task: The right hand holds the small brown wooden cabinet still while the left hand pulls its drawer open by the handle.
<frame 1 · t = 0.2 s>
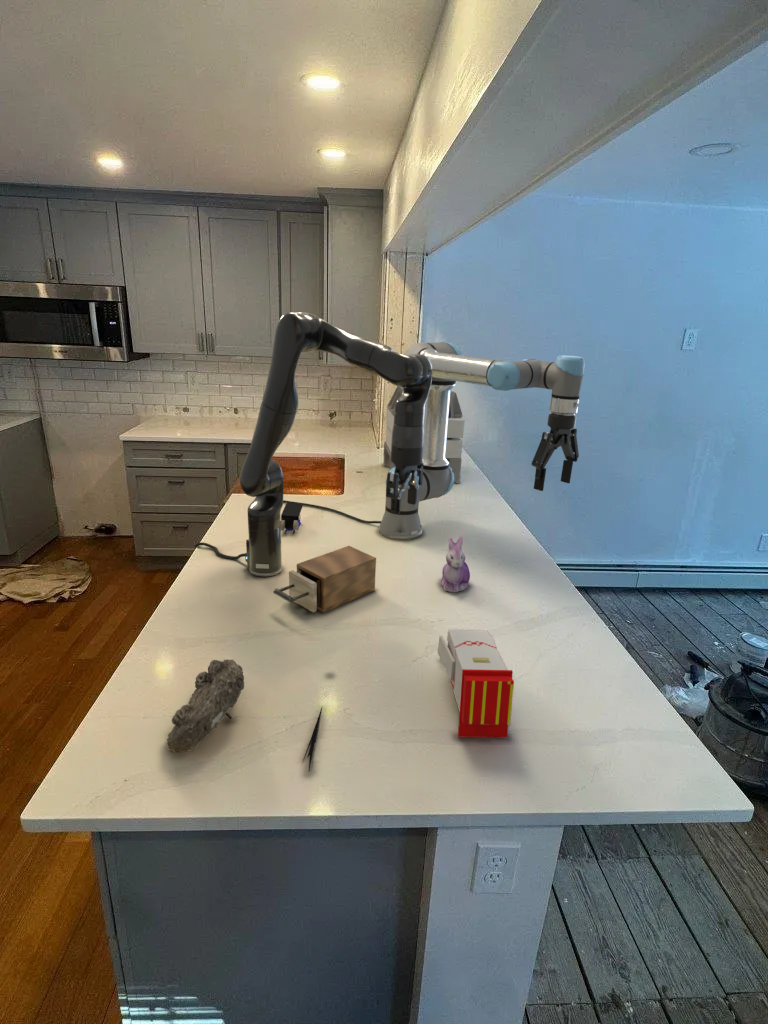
left hand: (403, 508, 138), 29 cm above the counter, tool pointing down, fingers open, 8 cm apart
right hand: (552, 485, 166), 28 cm above the counter, tool pointing down, fingers open, 13 cm apart
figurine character: (291, 529, 200), on the counter
white slatted crate: (419, 473, 275), on the counter
feather: (319, 719, 109), on the counter
fossil: (212, 717, 108), on the counter
cabinet: (336, 593, 156), on the counter
figurine: (454, 586, 164), on the counter
toy: (469, 691, 119), on the counter
drawer: (318, 584, 150), point 5 cm above the counter, slide at 1.8 cm
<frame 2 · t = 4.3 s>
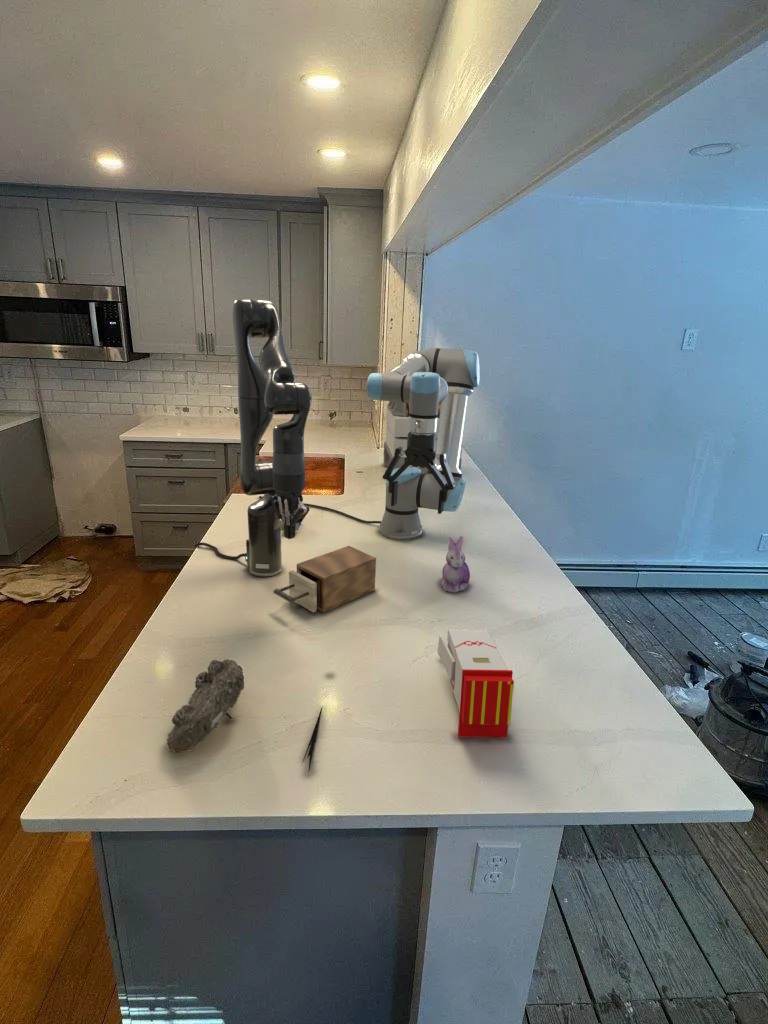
left hand: (289, 537, 139), 21 cm above the counter, tool pointing down, fingers closed
right hand: (416, 508, 157), 23 cm above the counter, tool pointing down, fingers open, 13 cm apart
nothing on the counter moved.
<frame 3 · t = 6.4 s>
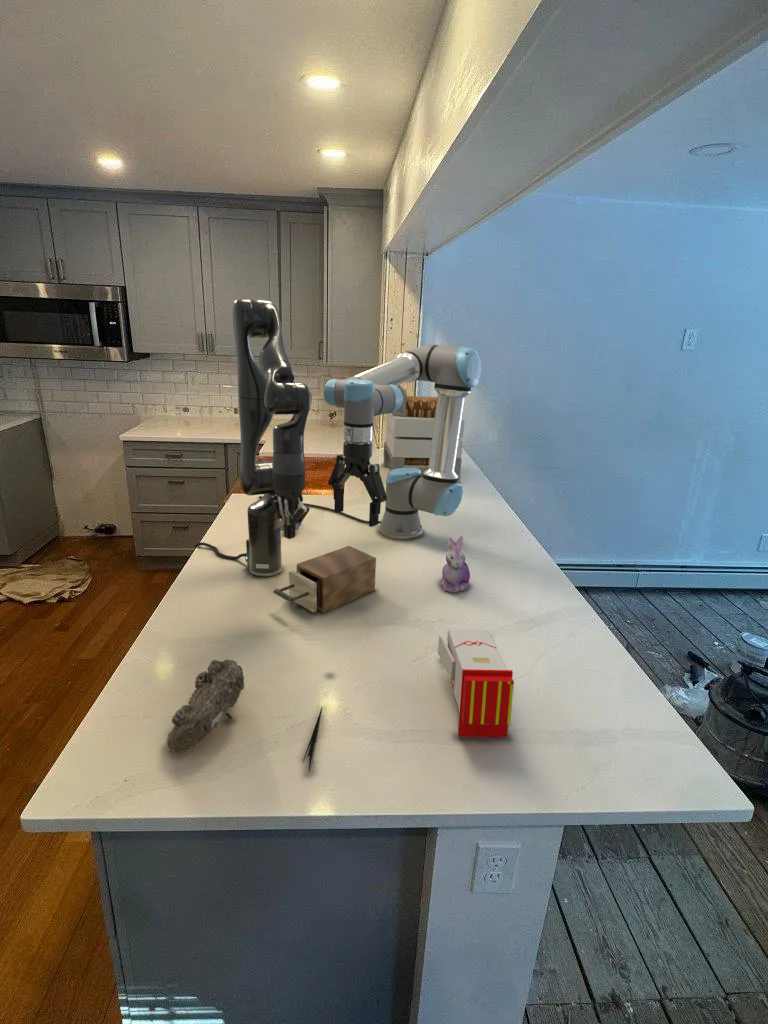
left hand: (289, 537, 139), 21 cm above the counter, tool pointing down, fingers closed
right hand: (355, 518, 154), 21 cm above the counter, tool pointing down, fingers open, 13 cm apart
nothing on the counter moved.
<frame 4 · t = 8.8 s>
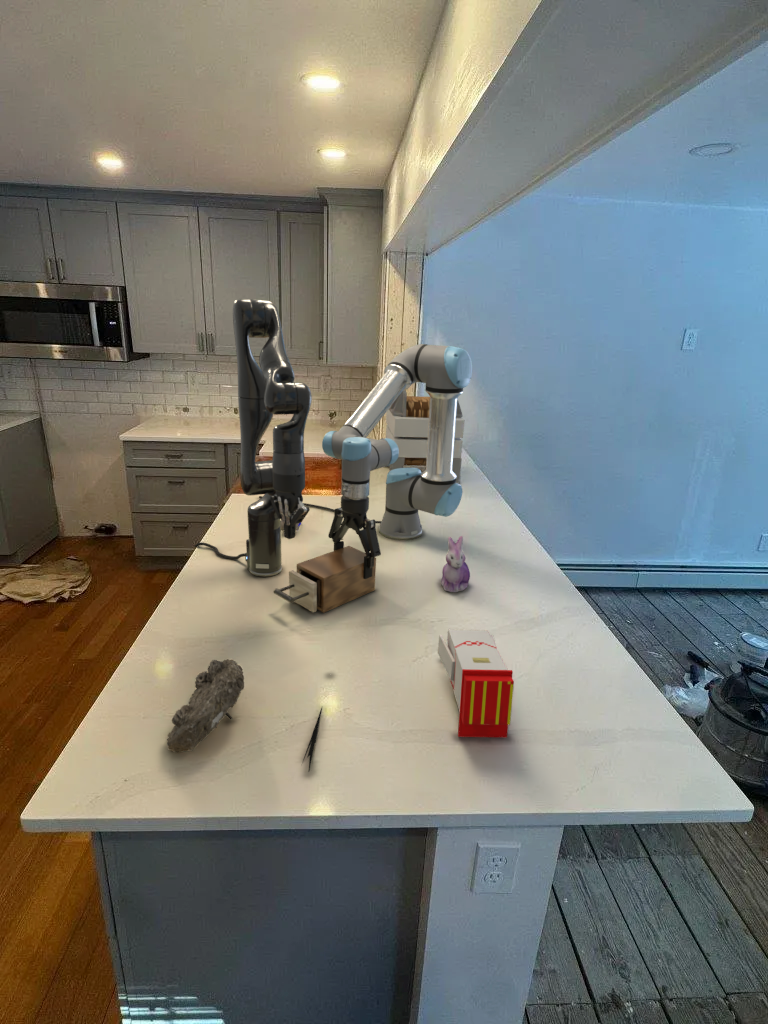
left hand: (289, 537, 139), 21 cm above the counter, tool pointing down, fingers closed
right hand: (352, 570, 159), 5 cm above the counter, tool pointing down, fingers closed on cabinet, 11 cm apart
cabinet: (336, 593, 156), on the counter, touching right hand
everything else where it was.
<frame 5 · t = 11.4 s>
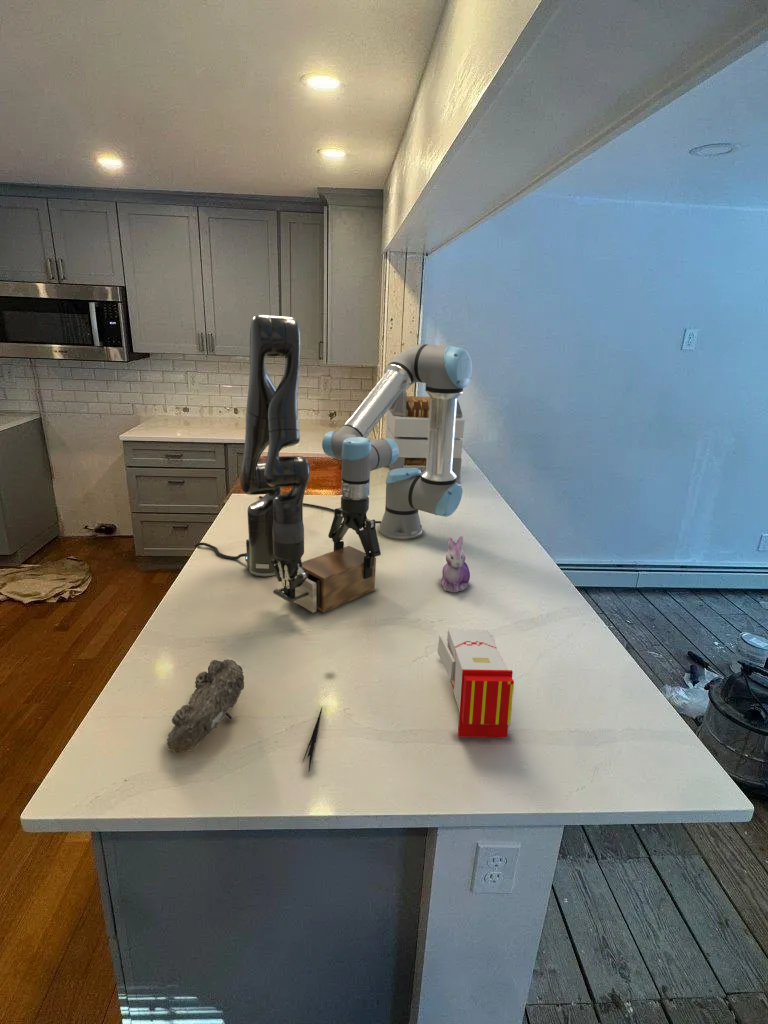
left hand: (289, 599, 144), 4 cm above the counter, tool pointing down, fingers closed
right hand: (352, 570, 159), 5 cm above the counter, tool pointing down, fingers closed on cabinet, 11 cm apart
cabinet: (336, 593, 156), on the counter, touching right hand
drawer: (317, 585, 150), point 5 cm above the counter, slide at 1.9 cm, touching left hand
everything else where it was.
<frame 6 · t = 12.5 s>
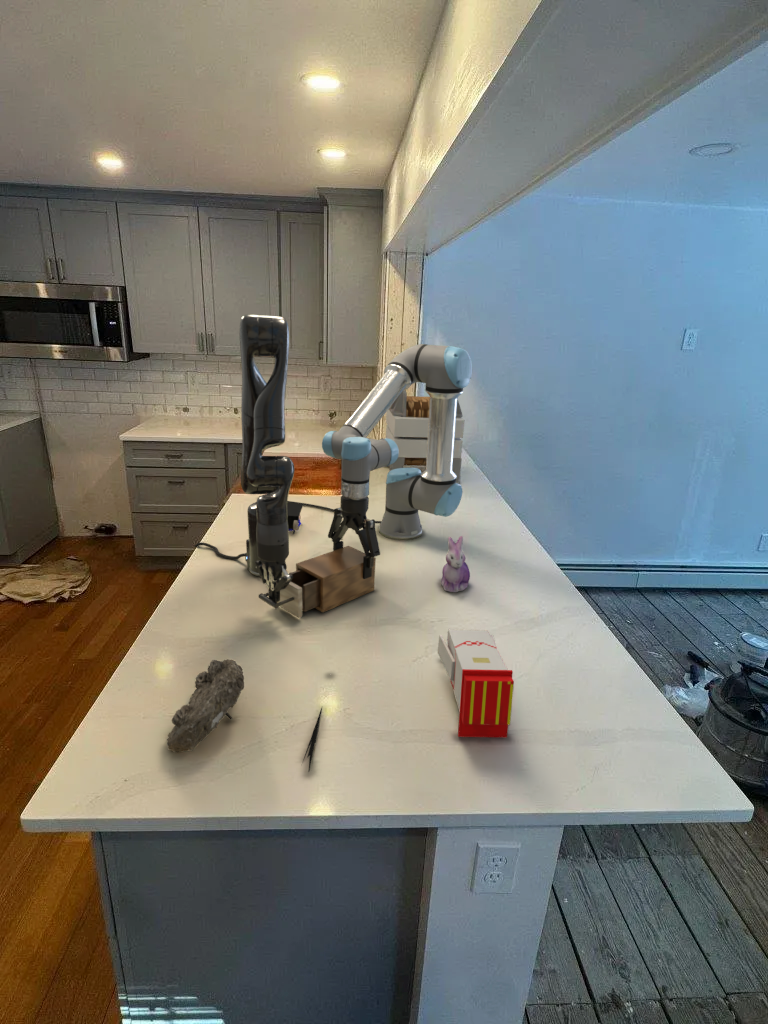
left hand: (274, 601, 141), 5 cm above the counter, tool pointing down, fingers closed
right hand: (352, 570, 159), 5 cm above the counter, tool pointing down, fingers closed on cabinet, 11 cm apart
cabinet: (335, 593, 156), on the counter, touching right hand
drawer: (304, 589, 147), point 5 cm above the counter, slide at 6.1 cm, touching left hand
everything else where it was.
when the right hand's fingers open (5 cm above the counter, at t = 14.2 s): cabinet stays where it is, on the counter.
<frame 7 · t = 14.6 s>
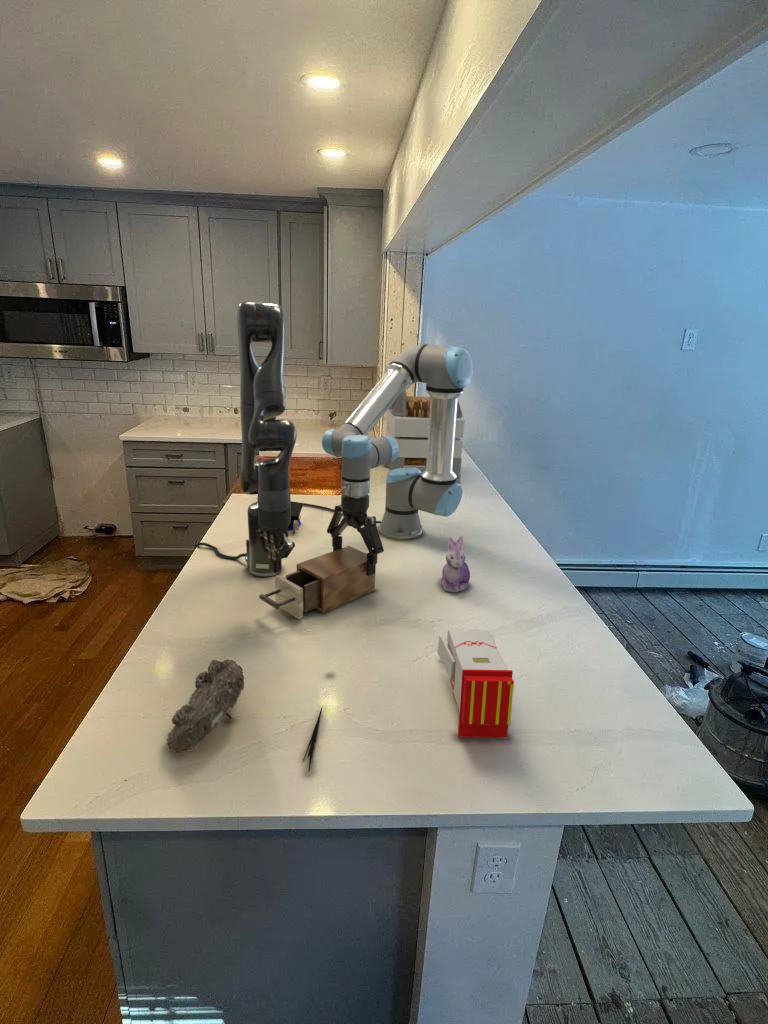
left hand: (275, 571, 138), 13 cm above the counter, tool pointing down, fingers closed
right hand: (353, 566, 158), 6 cm above the counter, tool pointing down, fingers open, 13 cm apart
cabinet: (336, 593, 156), on the counter
drawer: (305, 590, 147), point 5 cm above the counter, slide at 6.1 cm
everything else where it was.
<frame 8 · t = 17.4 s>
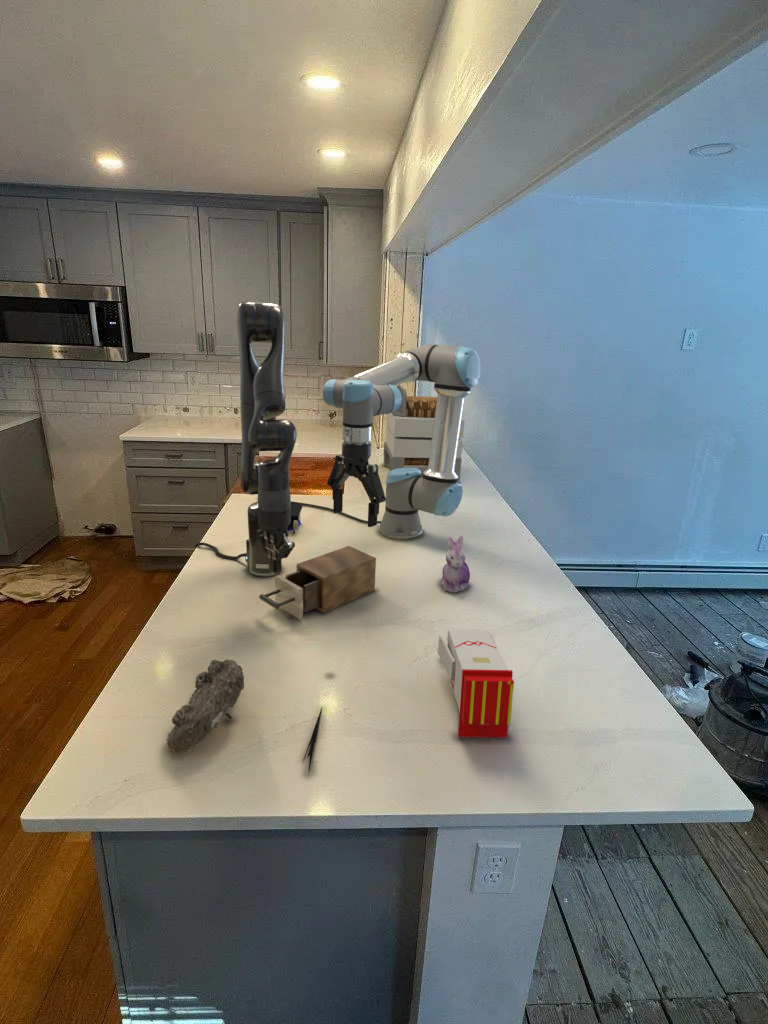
left hand: (275, 571, 138), 13 cm above the counter, tool pointing down, fingers closed
right hand: (354, 518, 154), 21 cm above the counter, tool pointing down, fingers open, 13 cm apart
nothing on the counter moved.
at the end: drawer slide at 6.1 cm; cabinet tilted 0°; cabinet never tilted more than 1° during the clip; cabinet moved 0.1 cm from its start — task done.
